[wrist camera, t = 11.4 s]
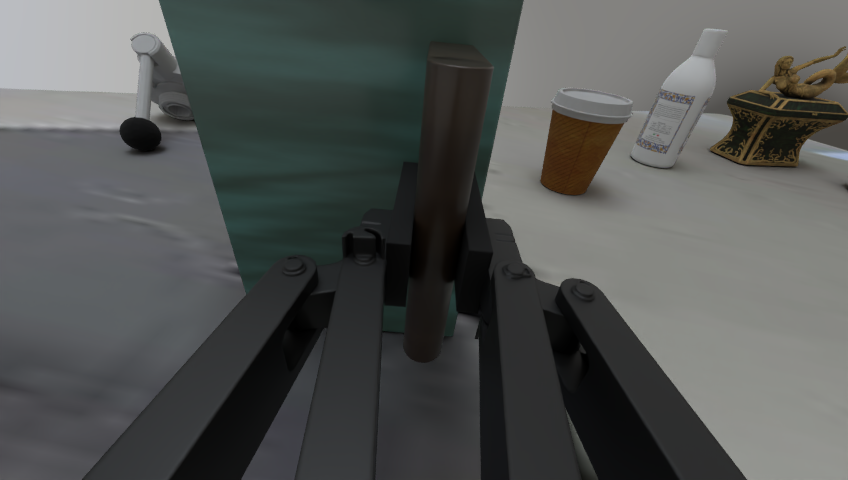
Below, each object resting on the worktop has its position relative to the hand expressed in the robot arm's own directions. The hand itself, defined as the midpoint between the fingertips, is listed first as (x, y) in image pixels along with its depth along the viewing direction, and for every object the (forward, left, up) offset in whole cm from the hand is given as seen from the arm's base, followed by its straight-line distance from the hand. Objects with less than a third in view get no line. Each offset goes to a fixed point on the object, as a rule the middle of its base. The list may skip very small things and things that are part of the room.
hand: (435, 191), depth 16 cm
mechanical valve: (+28, +46, -12) cm, 55 cm away
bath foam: (+51, -30, -12) cm, 60 cm away
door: (-3, +4, -12) cm, 13 cm away
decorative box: (+64, -54, -12) cm, 84 cm away
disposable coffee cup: (+33, -13, -12) cm, 37 cm away
